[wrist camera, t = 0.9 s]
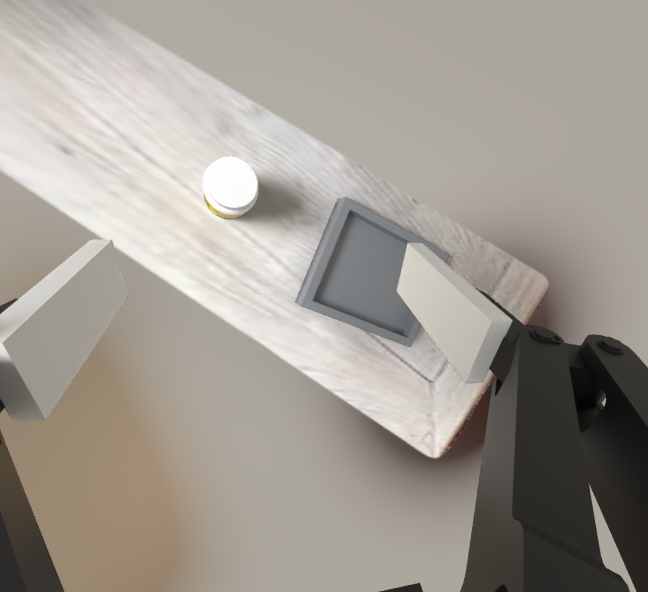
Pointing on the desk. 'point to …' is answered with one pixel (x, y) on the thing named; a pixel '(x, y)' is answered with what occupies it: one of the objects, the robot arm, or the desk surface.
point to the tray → (362, 273)
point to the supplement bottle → (230, 187)
